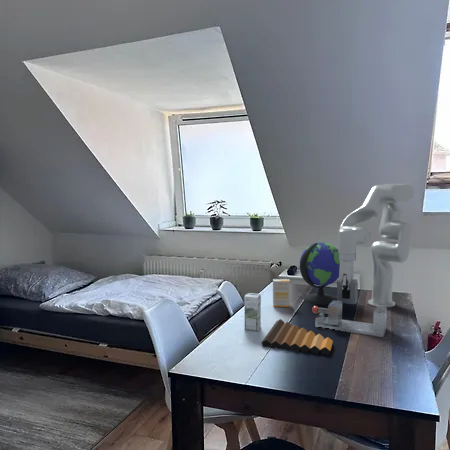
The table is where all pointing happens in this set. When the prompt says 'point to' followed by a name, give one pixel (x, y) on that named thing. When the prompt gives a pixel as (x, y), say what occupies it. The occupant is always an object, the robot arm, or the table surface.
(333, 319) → the free jaw
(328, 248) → the globe
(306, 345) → the pan flute
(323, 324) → the vise bed
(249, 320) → the syrup box
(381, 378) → the table surface
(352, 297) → the steel block
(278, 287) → the supplement box
